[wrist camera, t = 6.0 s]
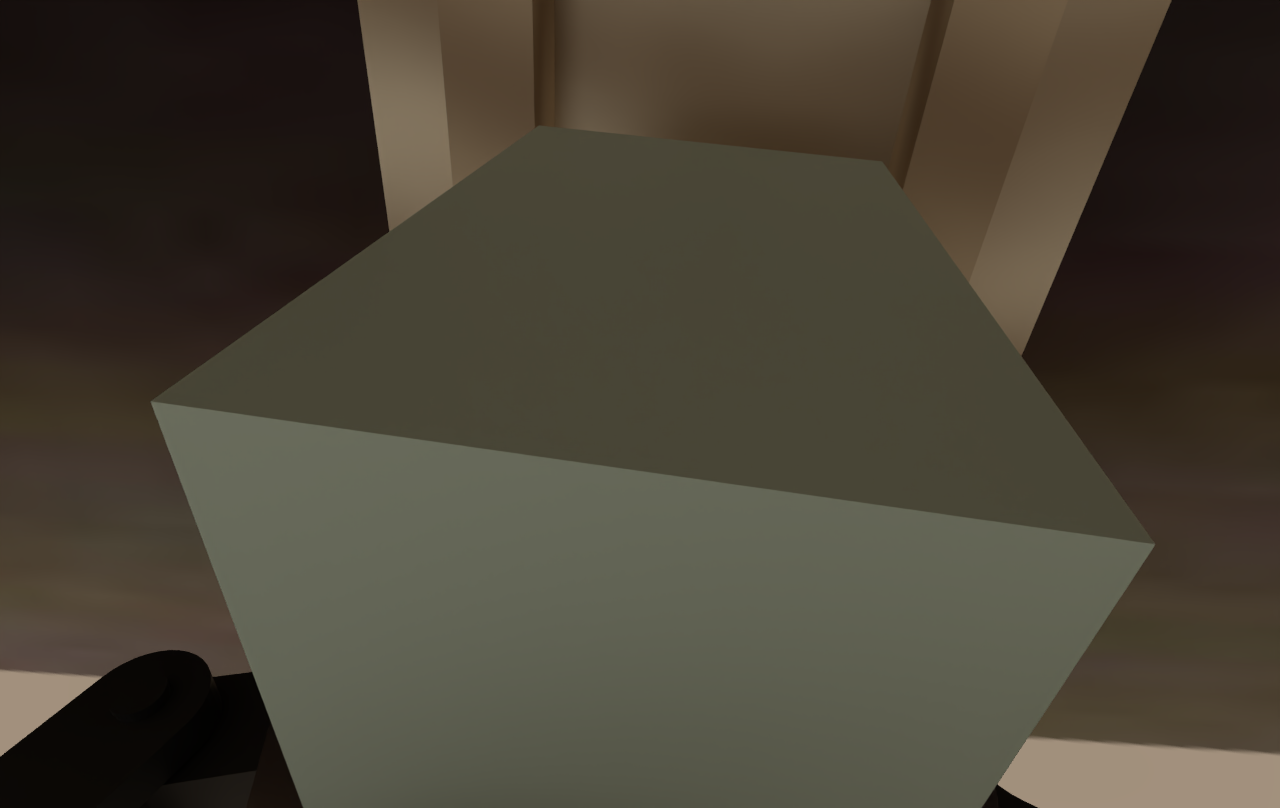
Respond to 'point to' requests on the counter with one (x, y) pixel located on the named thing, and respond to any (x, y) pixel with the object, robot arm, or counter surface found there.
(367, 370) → the rectangular block
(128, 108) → the counter surface
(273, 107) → the counter surface
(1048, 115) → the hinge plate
